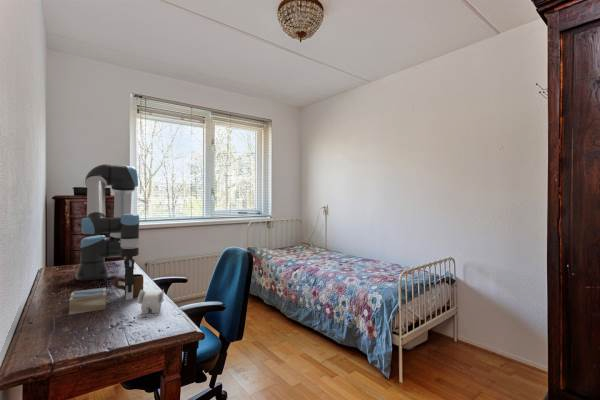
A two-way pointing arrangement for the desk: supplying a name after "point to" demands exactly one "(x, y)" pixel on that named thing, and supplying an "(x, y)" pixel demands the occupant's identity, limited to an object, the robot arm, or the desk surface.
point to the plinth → (87, 300)
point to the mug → (136, 286)
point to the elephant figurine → (150, 301)
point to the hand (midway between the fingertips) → (128, 296)
